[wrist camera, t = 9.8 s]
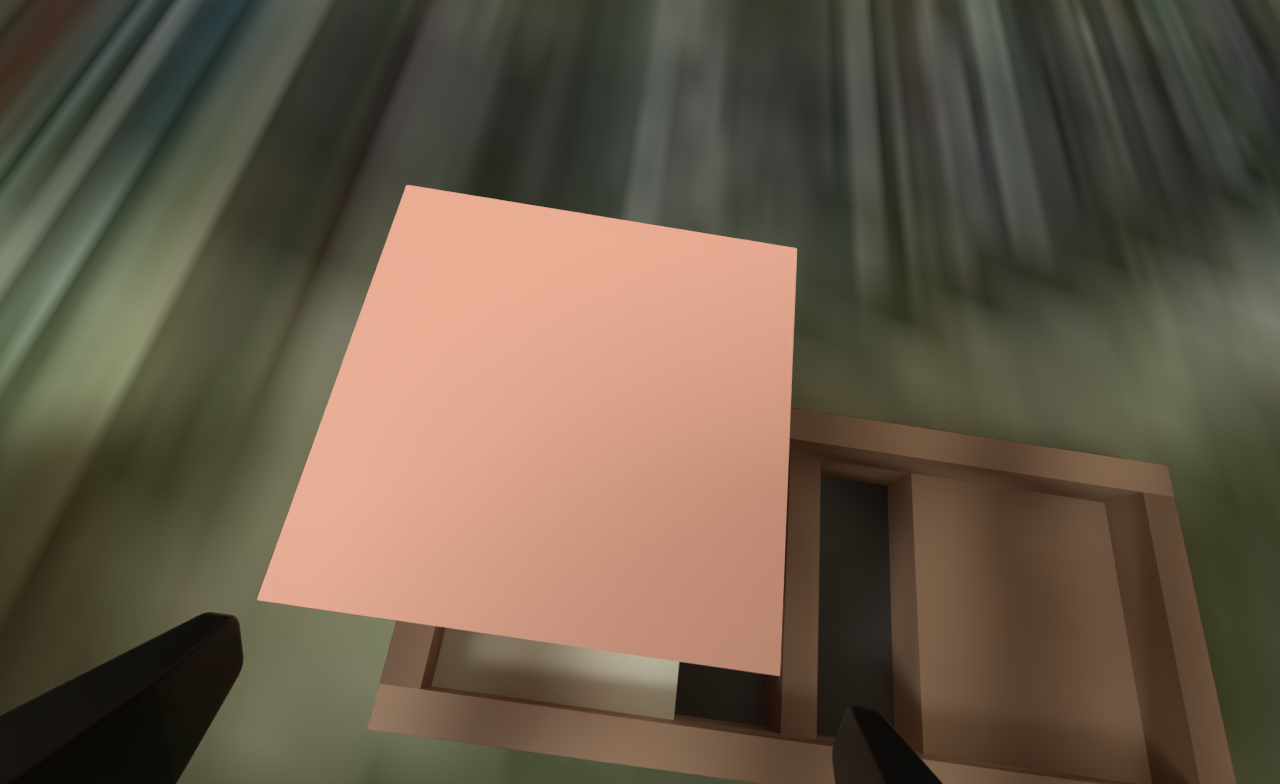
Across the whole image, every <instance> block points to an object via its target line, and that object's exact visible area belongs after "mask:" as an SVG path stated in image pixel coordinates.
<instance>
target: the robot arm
mask: <svg viewBox="0 0 1280 784" xmlns="http://www.w3.org/2000/svg"><path fill="white" fill-rule="evenodd" d="M242 665H243V650H242V641H241V633H240V624H239V620H238V619H237V618H236V617H235V616H233V615H227V614H220V613H213V612H207V613H203V614H201V615H199V616H197V617H195V618H193V619H191V620H189V621H187V622H185V623H183V624H181V625H179V626H177V627H175V628H173V629H171V630H169V631H167V632H165V633H163V634H161V635H159V636H157V637H155V638H153V639H151V640H149V641H147V642H145V643H143V644H141V645H139V646H137V647H135V648H133V649H131V650H129V651H127V652H125V653H123V654H121V655H119V656H117V657H115V658H113V659H112V660H110V661H108V662H106V663H104V664H102V665H100V666H98V667H96V668H94V669H92V670H90V671H88V672H86V673H84V674H82V675H80V676H78V677H76V678H74V679H72V680H70V681H68V682H66V683H64V684H62V685H60V686H58V687H56V688H54V689H52V690H50V691H48V692H46V693H44V694H42V695H40V696H38V697H36V698H34V699H32V700H30V701H28V702H26V703H24V704H22V705H20V706H18V707H16V708H15V709H13V710H11V711H9V712H7V713H5V714H3V715H1V716H0V784H176V783H177V781H178V779H179V778H180V776H181V774H182V773H183V771H184V769H185V768H186V766H187V764H188V763H189V761H190V759H191V758H192V756H193V754H194V752H195V751H196V749H197V747H198V745H199V744H200V742H201V740H202V738H203V737H204V735H205V733H206V731H207V730H208V728H209V726H210V724H211V723H212V721H213V719H214V718H215V716H216V714H217V712H218V711H219V709H220V707H221V705H222V704H223V702H224V700H225V698H226V697H227V695H228V693H229V691H230V690H231V688H232V686H233V684H234V683H235V681H236V679H237V677H238V675H239V673H240V671H241V668H242ZM832 763H833V771H834V778H835V784H943V783H942V782H941V781H940V780H939V778H938V777H937V776H936V775H935V774H934V773H933V772H932V771H931V769H930V768H929V767H928V766H927V765H926V764H925V763H924V761H923V760H922V759H921V758H920V757H919V756H918V755H917V754H916V752H915V751H914V750H913V749H912V748H911V747H910V746H909V744H908V743H907V742H906V741H905V740H904V739H903V738H902V737H901V735H900V734H899V733H898V732H897V731H896V730H895V729H894V727H893V726H892V725H891V724H890V723H889V722H888V721H887V720H886V718H885V717H884V716H883V715H882V714H881V713H880V712H879V711H877V710H875V709H872V708H865V707H858V706H850V707H849V708H848V709H847V710H846V712H845V714H844V717H843V719H842V722H841V725H840V727H839V730H838V732H837V735H836V738H835V740H834V743H833V748H832Z"/></svg>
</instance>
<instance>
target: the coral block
mask: <svg viewBox="0 0 1280 784" xmlns="http://www.w3.org/2000/svg"><path fill="white" fill-rule="evenodd" d="M796 264H797V248H792V247H786V246H780V245H773V244H767V243H761V242H755V241H749V240H743V239H737V238H730V237H724V236H718V235H712V234H706V233H700V232H694V231H687V230H681V229H675V228H669V227H663V226H657V225H650V224H644V223H638V222H632V221H626V220H620V219H614V218H607V217H601V216H595V215H589V214H583V213H577V212H571V211H564V210H558V209H552V208H546V207H540V206H534V205H528V204H521V203H515V202H509V201H503V200H497V199H491V198H484V197H478V196H472V195H466V194H460V193H454V192H448V191H441V190H435V189H429V188H423V187H417V186H411V185H406V188H405V191H404V194H403V196H402V199H401V202H400V205H399V207H398V210H397V213H396V216H395V219H394V221H393V224H392V227H391V230H390V232H389V235H388V238H387V241H386V243H385V246H384V249H383V252H382V255H381V257H380V260H379V263H378V266H377V268H376V271H375V274H374V277H373V279H372V282H371V285H370V288H369V291H368V293H367V296H366V299H365V302H364V304H363V307H362V310H361V313H360V315H359V318H358V321H357V324H356V327H355V329H354V332H353V335H352V338H351V340H350V343H349V346H348V349H347V351H346V354H345V357H344V360H343V363H342V365H341V368H340V371H339V374H338V376H337V379H336V382H335V385H334V387H333V390H332V393H331V396H330V399H329V401H328V404H327V407H326V410H325V412H324V415H323V418H322V421H321V423H320V426H319V429H318V432H317V435H316V437H315V440H314V443H313V446H312V448H311V451H310V454H309V457H308V459H307V462H306V465H305V468H304V471H303V473H302V476H301V479H300V482H299V484H298V487H297V490H296V493H295V495H294V498H293V501H292V504H291V507H290V509H289V512H288V515H287V518H286V520H285V523H284V526H283V529H282V531H281V534H280V537H279V540H278V543H277V545H276V548H275V551H274V554H273V556H272V559H271V562H270V565H269V567H268V570H267V573H266V576H265V579H264V581H263V584H262V587H261V590H260V592H259V595H258V598H257V600H260V601H266V602H273V603H280V604H287V605H294V606H301V607H308V608H315V609H321V610H328V611H335V612H342V613H349V614H356V615H363V616H370V617H376V618H383V619H390V620H397V621H404V622H411V623H418V624H424V625H431V626H438V627H445V628H452V629H459V630H466V631H473V632H479V633H486V634H493V635H500V636H507V637H514V638H521V639H528V640H534V641H541V642H548V643H555V644H562V645H569V646H576V647H582V648H589V649H596V650H603V651H610V652H617V653H624V654H631V655H637V656H644V657H651V658H658V659H665V660H672V661H679V662H686V663H692V664H699V665H706V666H713V667H720V668H727V669H734V670H740V671H747V672H754V673H761V674H768V675H775V676H780V665H781V640H782V615H783V590H784V565H785V540H786V515H787V490H788V464H789V439H790V414H791V389H792V364H793V339H794V314H795V289H796Z"/></svg>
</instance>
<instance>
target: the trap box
mask: <svg viewBox="0 0 1280 784" xmlns="http://www.w3.org/2000/svg"><path fill="white" fill-rule="evenodd" d="M850 706H858V707H865V708H872V709H875V710H877V711H879V712H880V713H881V714H882V715H883V716H884V717H885V718H886V720H887V721H888V722H889V723H890V724H891V725H892V726H893V727H894V729H895V730H896V731H897V732H898V733H899V734H900V735H901V737H902V738H903V739H904V740H905V741H906V742H907V743H908V744H909V746H910V747H911V748H912V749H913V750H914V751H915V752H916V754H917V755H918V756H919V757H920V758H921V759H922V760H923V761H924V763H925V764H926V765H927V766H928V767H929V768H930V769H931V771H932V772H933V773H934V774H935V775H936V776H937V777H938V778H939V780H940V781H941V782H942V783H943V784H1236V780H1235V775H1234V771H1233V766H1232V761H1231V757H1230V752H1229V747H1228V743H1227V738H1226V733H1225V729H1224V724H1223V719H1222V715H1221V710H1220V706H1219V701H1218V696H1217V692H1216V687H1215V682H1214V678H1213V673H1212V668H1211V664H1210V659H1209V654H1208V650H1207V645H1206V641H1205V636H1204V631H1203V627H1202V622H1201V617H1200V613H1199V608H1198V603H1197V599H1196V594H1195V589H1194V585H1193V580H1192V575H1191V571H1190V566H1189V562H1188V557H1187V552H1186V548H1185V543H1184V538H1183V534H1182V529H1181V524H1180V520H1179V515H1178V510H1177V506H1176V501H1175V497H1174V492H1173V487H1172V483H1171V478H1170V473H1169V469H1168V466H1167V465H1161V464H1154V463H1148V462H1141V461H1135V460H1128V459H1122V458H1115V457H1109V456H1102V455H1096V454H1089V453H1083V452H1076V451H1070V450H1063V449H1057V448H1050V447H1043V446H1037V445H1030V444H1024V443H1017V442H1011V441H1004V440H998V439H991V438H985V437H978V436H972V435H965V434H959V433H952V432H946V431H939V430H933V429H926V428H920V427H913V426H907V425H900V424H894V423H887V422H881V421H874V420H867V419H861V418H854V417H848V416H841V415H835V414H828V413H822V412H815V411H809V410H802V409H796V408H791V414H790V439H789V464H788V490H787V515H786V540H785V565H784V590H783V615H782V640H781V665H780V676H775V675H768V674H761V673H754V672H747V671H740V670H734V669H727V668H720V667H713V666H706V665H699V664H692V663H686V662H679V661H672V660H665V659H658V658H651V657H644V656H637V655H631V654H624V653H617V652H610V651H603V650H596V649H589V648H582V647H576V646H569V645H562V644H555V643H548V642H541V641H534V640H528V639H521V638H514V637H507V636H500V635H493V634H486V633H479V632H473V631H466V630H459V629H452V628H445V627H438V626H431V625H424V624H418V623H411V622H404V621H397V620H396V624H395V628H394V632H393V635H392V639H391V643H390V646H389V650H388V654H387V658H386V661H385V665H384V669H383V672H382V676H381V680H380V684H379V687H378V691H377V695H376V698H375V702H374V706H373V710H372V713H371V717H370V721H369V724H368V728H367V729H369V730H376V731H383V732H390V733H398V734H405V735H412V736H419V737H427V738H434V739H441V740H448V741H456V742H463V743H470V744H478V745H485V746H492V747H499V748H507V749H514V750H521V751H528V752H536V753H543V754H550V755H557V756H565V757H572V758H579V759H587V760H594V761H601V762H608V763H616V764H623V765H630V766H637V767H645V768H652V769H659V770H666V771H674V772H681V773H688V774H696V775H703V776H710V777H717V778H725V779H732V780H739V781H746V782H754V783H761V784H835V778H834V771H833V763H832V748H833V743H834V740H835V738H836V735H837V732H838V730H839V727H840V725H841V722H842V719H843V717H844V714H845V712H846V710H847V709H848V708H849V707H850Z"/></svg>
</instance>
